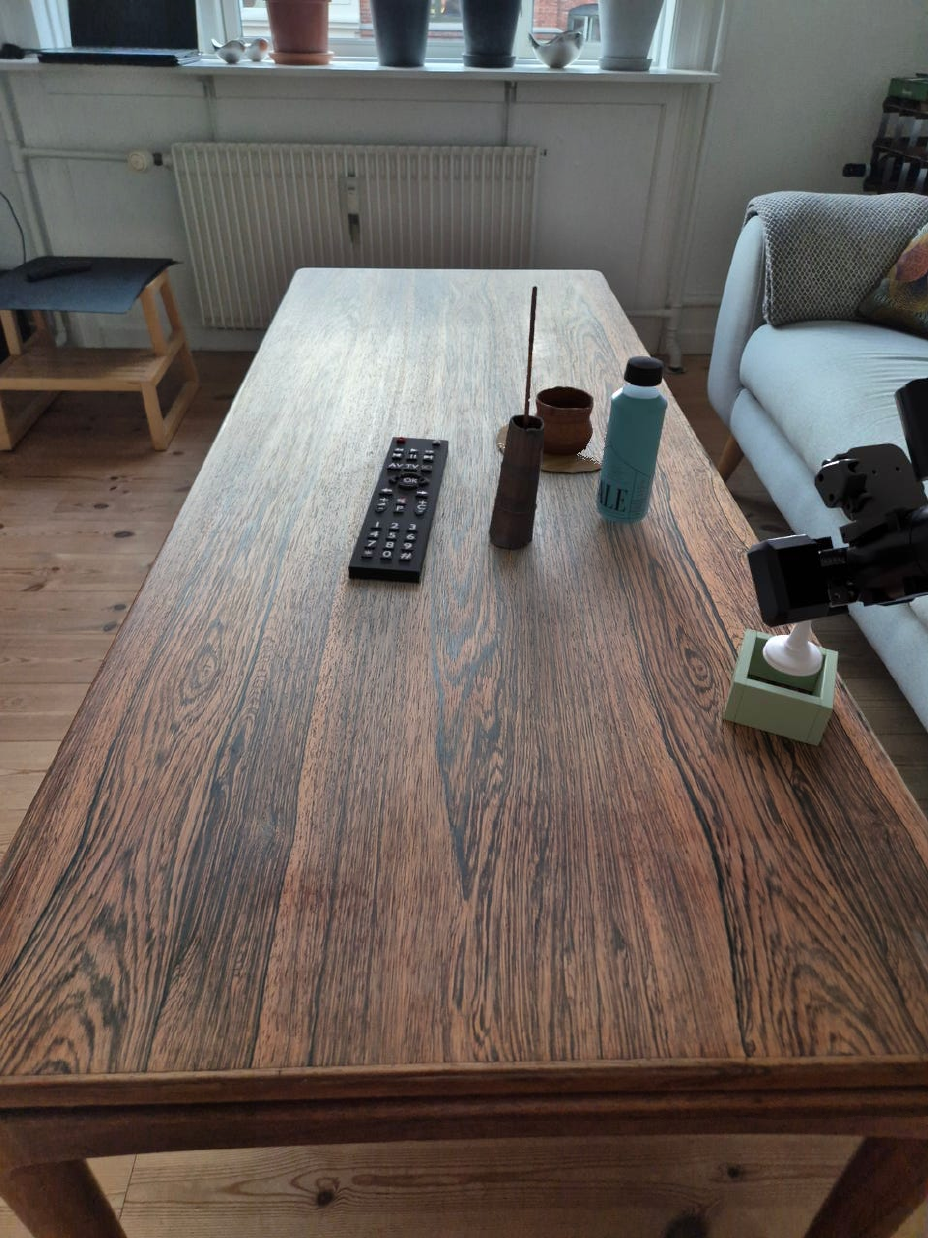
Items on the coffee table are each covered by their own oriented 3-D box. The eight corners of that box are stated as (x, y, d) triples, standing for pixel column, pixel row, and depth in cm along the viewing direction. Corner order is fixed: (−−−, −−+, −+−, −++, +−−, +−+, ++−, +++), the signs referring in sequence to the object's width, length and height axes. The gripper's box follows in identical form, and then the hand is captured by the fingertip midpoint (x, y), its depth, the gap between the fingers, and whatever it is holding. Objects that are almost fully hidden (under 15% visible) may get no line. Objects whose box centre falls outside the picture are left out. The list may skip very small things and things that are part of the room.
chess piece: (833, 671, 72) (870, 574, 66) (783, 681, 71) (816, 583, 65) (799, 636, 76) (831, 542, 70) (751, 645, 75) (780, 550, 69)
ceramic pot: (635, 473, 112) (644, 424, 107) (503, 474, 110) (506, 424, 106) (608, 416, 126) (615, 370, 121) (490, 416, 125) (493, 370, 120)
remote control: (448, 450, 116) (448, 436, 114) (419, 583, 90) (419, 568, 89) (393, 446, 116) (393, 433, 115) (348, 578, 91) (347, 562, 89)
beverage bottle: (650, 513, 104) (680, 353, 91) (642, 540, 99) (673, 375, 86) (598, 503, 105) (620, 345, 93) (587, 529, 100) (610, 366, 88)
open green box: (824, 688, 79) (838, 651, 76) (817, 746, 73) (833, 709, 70) (735, 664, 81) (746, 628, 78) (722, 719, 75) (733, 681, 72)
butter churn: (552, 569, 93) (581, 314, 76) (467, 559, 94) (477, 305, 77) (557, 526, 100) (586, 284, 83) (479, 518, 101) (490, 277, 84)
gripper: (1027, 415, 59) (873, 483, 74) (797, 442, 54) (683, 509, 69) (1069, 569, 57) (904, 607, 72) (838, 610, 53) (712, 642, 68)
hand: (803, 588), depth 71 cm, fingers closed on chess piece
